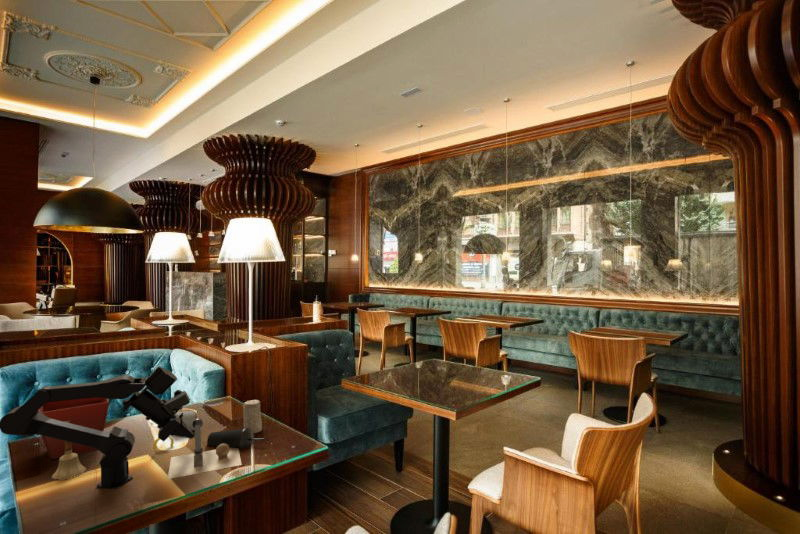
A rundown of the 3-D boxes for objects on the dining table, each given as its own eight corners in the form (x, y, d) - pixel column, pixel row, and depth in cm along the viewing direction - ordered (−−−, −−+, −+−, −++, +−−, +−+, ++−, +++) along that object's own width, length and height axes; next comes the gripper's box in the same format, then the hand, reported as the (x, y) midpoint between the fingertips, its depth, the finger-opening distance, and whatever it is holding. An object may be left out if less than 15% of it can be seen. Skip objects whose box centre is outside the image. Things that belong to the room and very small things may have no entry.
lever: (192, 460, 134) (192, 421, 134) (193, 454, 137) (192, 417, 137) (203, 458, 135) (202, 419, 135) (203, 453, 139) (202, 416, 139)
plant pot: (107, 434, 165) (106, 389, 165) (110, 450, 150) (109, 401, 150) (42, 447, 154) (41, 399, 154) (37, 466, 139) (36, 413, 139)
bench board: (167, 484, 126) (167, 466, 126) (171, 462, 140) (170, 446, 140) (241, 469, 134) (241, 453, 134) (237, 450, 148) (237, 435, 148)
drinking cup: (209, 456, 150) (262, 457, 146) (201, 441, 147) (255, 440, 142) (221, 438, 157) (272, 438, 152) (213, 423, 153) (265, 422, 149)
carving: (256, 429, 167) (255, 397, 167) (265, 434, 162) (265, 401, 162) (240, 433, 163) (239, 401, 163) (249, 439, 158) (248, 405, 158)
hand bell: (58, 482, 128) (57, 428, 128) (46, 476, 132) (45, 423, 132) (91, 471, 135) (89, 419, 135) (78, 465, 139) (77, 415, 139)
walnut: (216, 461, 136) (215, 447, 136) (215, 456, 140) (215, 442, 140) (229, 459, 138) (229, 445, 138) (229, 454, 142) (228, 440, 142)
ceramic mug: (198, 431, 166) (197, 411, 166) (174, 437, 161) (173, 416, 161) (193, 424, 174) (192, 405, 174) (169, 429, 170) (169, 409, 170)
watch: (170, 449, 151) (171, 431, 151) (174, 451, 149) (175, 433, 149) (151, 453, 146) (152, 435, 147) (155, 456, 145) (156, 437, 145)
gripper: (170, 392, 125) (213, 424, 129) (174, 377, 142) (212, 406, 146) (138, 425, 122) (184, 456, 126) (146, 406, 139) (186, 434, 143)
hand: (193, 436), depth 136 cm, fingers closed
